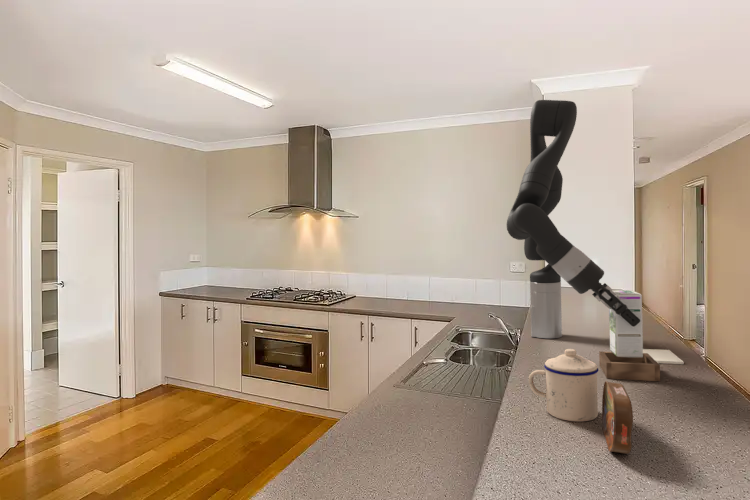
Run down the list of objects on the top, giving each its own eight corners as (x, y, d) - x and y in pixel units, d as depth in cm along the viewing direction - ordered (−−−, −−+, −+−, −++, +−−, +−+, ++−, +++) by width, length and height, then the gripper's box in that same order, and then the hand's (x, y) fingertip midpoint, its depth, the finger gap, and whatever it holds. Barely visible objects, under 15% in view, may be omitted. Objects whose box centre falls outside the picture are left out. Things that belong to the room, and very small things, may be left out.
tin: (600, 422, 81) (599, 374, 81) (621, 424, 80) (620, 375, 80) (611, 462, 67) (610, 404, 67) (636, 465, 66) (635, 406, 66)
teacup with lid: (600, 408, 87) (599, 346, 87) (597, 426, 79) (596, 358, 79) (533, 399, 93) (532, 341, 93) (524, 415, 85) (523, 351, 85)
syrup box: (643, 357, 105) (643, 293, 104) (615, 357, 106) (615, 293, 105) (635, 351, 110) (635, 290, 110) (608, 350, 112) (608, 290, 111)
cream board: (628, 361, 117) (628, 359, 117) (619, 350, 128) (619, 348, 128) (683, 364, 113) (683, 361, 113) (669, 352, 125) (669, 349, 125)
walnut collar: (606, 378, 105) (606, 362, 105) (599, 365, 115) (599, 351, 115) (660, 381, 101) (659, 365, 101) (647, 367, 111) (647, 353, 111)
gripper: (593, 260, 103) (655, 315, 100) (585, 256, 116) (639, 304, 113) (567, 284, 105) (627, 339, 102) (562, 277, 118) (615, 325, 115)
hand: (633, 320), depth 107 cm, fingers closed on syrup box, 6 cm apart
